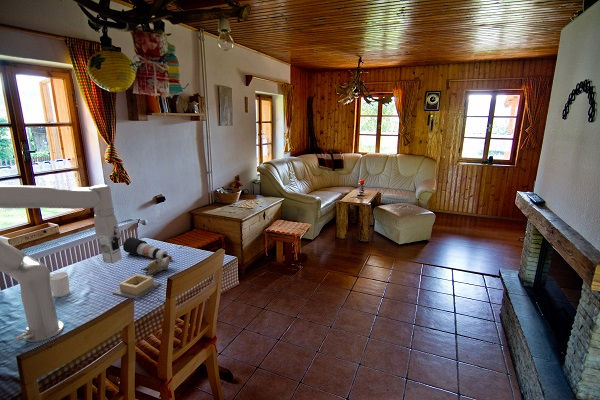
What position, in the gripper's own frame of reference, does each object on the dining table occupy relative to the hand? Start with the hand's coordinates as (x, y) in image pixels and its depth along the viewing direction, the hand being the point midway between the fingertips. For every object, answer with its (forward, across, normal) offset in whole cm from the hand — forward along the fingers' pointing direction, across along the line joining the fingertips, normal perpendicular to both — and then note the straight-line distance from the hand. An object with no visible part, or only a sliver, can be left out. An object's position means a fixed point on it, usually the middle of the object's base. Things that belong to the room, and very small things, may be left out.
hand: (110, 248), depth 152 cm
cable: (+28, -23, +43) cm, 56 cm away
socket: (+27, +1, +10) cm, 29 cm away
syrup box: (+7, 0, 0) cm, 7 cm away
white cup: (+27, -31, -7) cm, 41 cm away
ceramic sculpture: (+28, -4, +29) cm, 40 cm away
